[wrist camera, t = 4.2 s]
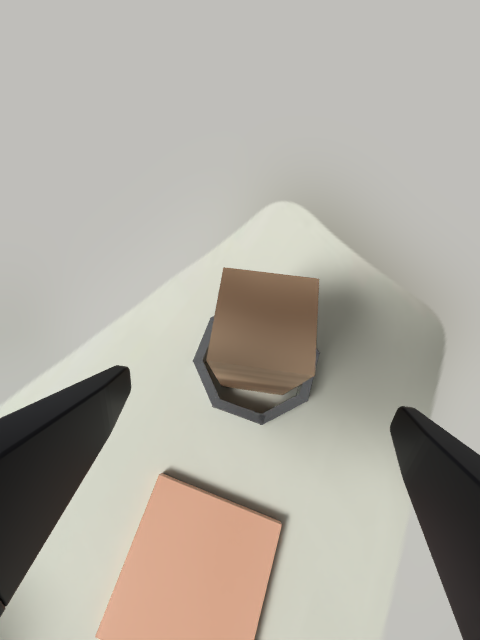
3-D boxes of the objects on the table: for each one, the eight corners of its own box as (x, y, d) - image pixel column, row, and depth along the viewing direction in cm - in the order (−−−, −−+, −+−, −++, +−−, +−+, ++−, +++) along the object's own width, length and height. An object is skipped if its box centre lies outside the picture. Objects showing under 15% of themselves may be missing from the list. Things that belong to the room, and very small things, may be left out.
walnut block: (282, 395, 19) (314, 375, 11) (221, 386, 19) (206, 360, 11) (287, 336, 21) (318, 278, 12) (230, 328, 21) (223, 267, 12)
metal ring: (295, 437, 18) (298, 438, 17) (182, 396, 19) (178, 394, 18) (322, 327, 21) (327, 322, 20) (222, 296, 22) (221, 289, 21)
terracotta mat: (237, 696, 14) (237, 708, 13) (100, 628, 15) (95, 636, 14) (280, 521, 17) (281, 524, 16) (161, 472, 17) (159, 474, 17)
